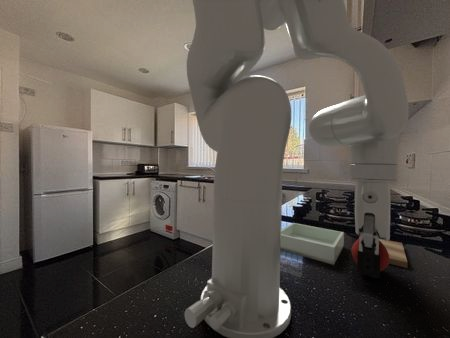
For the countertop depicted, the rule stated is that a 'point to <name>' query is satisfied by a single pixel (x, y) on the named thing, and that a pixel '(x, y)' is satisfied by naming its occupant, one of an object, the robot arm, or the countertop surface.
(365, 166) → the robot arm
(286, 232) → the bin
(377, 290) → the countertop surface
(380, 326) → the countertop surface
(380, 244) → the onion
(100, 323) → the countertop surface
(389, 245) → the board
